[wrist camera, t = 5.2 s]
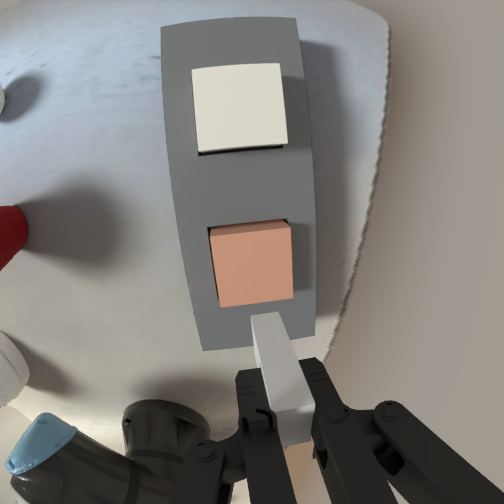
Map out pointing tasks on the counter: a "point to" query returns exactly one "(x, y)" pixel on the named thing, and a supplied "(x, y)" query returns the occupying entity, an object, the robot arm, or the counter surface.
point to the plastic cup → (11, 233)
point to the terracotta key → (252, 262)
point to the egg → (1, 99)
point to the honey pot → (11, 370)
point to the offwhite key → (239, 107)
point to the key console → (239, 172)
